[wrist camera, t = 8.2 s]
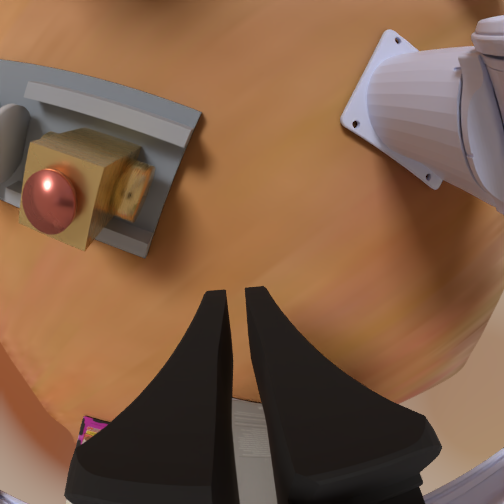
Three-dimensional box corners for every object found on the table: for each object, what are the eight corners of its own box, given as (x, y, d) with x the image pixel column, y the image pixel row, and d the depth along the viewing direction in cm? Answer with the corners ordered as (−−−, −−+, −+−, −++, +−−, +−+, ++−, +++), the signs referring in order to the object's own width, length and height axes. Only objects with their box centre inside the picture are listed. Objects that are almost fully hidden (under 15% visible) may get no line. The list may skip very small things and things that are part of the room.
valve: (163, 154, 16) (129, 184, 10) (142, 214, 17) (106, 271, 11) (67, 121, 14) (-2, 138, 8) (53, 180, 16) (-10, 220, 10)
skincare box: (225, 393, 27) (236, 542, 13) (286, 404, 29) (313, 535, 15) (198, 427, 31) (201, 546, 17) (251, 436, 33) (265, 546, 19)
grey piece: (202, 112, 16) (193, 114, 11) (147, 254, 19) (128, 300, 15) (-3, 59, 11) (-49, 58, 6) (-28, 182, 15) (-68, 205, 10)
